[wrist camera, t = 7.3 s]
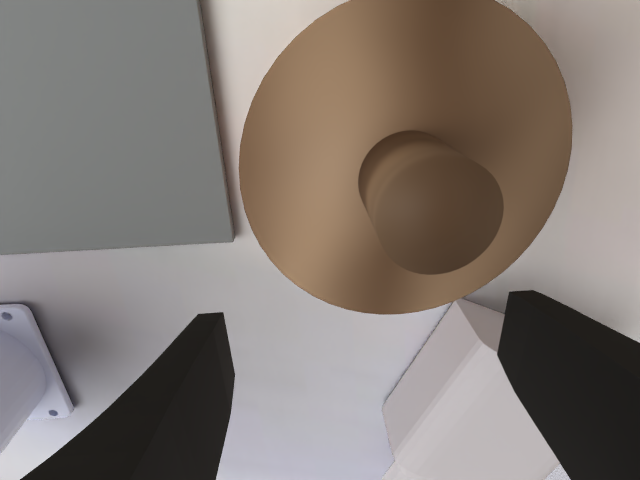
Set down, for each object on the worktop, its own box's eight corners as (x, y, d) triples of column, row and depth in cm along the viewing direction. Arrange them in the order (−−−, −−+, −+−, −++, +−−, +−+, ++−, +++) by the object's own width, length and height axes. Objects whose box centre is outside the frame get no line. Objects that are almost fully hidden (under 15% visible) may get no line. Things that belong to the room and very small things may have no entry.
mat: (-13, 250, 19) (-23, 256, 18) (-154, -53, 14) (-173, -58, 13) (234, 236, 19) (232, 241, 19) (190, -65, 14) (185, -70, 13)
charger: (339, 458, 27) (450, 291, 22) (449, 485, 29) (579, 339, 23) (346, 533, 23) (487, 350, 17) (475, 559, 25) (641, 402, 19)
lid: (261, 311, 16) (249, 394, 12) (217, -3, 11) (174, -33, 7) (525, 293, 16) (597, 368, 12) (593, -22, 11) (746, -61, 7)
